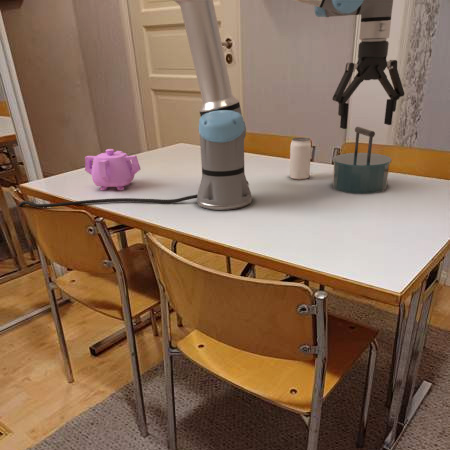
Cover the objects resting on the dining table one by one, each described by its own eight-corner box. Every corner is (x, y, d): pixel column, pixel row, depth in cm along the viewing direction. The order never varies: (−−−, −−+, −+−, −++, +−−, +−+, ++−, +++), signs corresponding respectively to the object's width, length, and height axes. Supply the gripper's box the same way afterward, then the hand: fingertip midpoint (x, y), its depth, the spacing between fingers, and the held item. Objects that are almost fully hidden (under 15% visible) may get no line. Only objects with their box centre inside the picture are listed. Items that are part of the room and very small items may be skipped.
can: (303, 180, 148) (305, 141, 142) (285, 178, 151) (286, 139, 145) (313, 176, 152) (315, 138, 146) (295, 173, 156) (297, 136, 150)
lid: (347, 171, 128) (350, 135, 124) (323, 159, 142) (325, 126, 138) (402, 166, 131) (407, 131, 126) (373, 154, 145) (377, 122, 141)
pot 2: (346, 195, 132) (348, 169, 128) (324, 182, 145) (326, 157, 142) (396, 190, 135) (400, 164, 131) (370, 177, 148) (373, 153, 144)
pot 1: (150, 179, 156) (145, 143, 151) (133, 194, 141) (128, 155, 136) (99, 179, 159) (93, 144, 153) (77, 194, 144) (70, 155, 138)
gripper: (335, 42, 116) (329, 131, 126) (425, 37, 120) (413, 124, 131) (323, 43, 123) (319, 127, 133) (409, 38, 127) (398, 120, 137)
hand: (365, 126), depth 132 cm, fingers open, 13 cm apart
